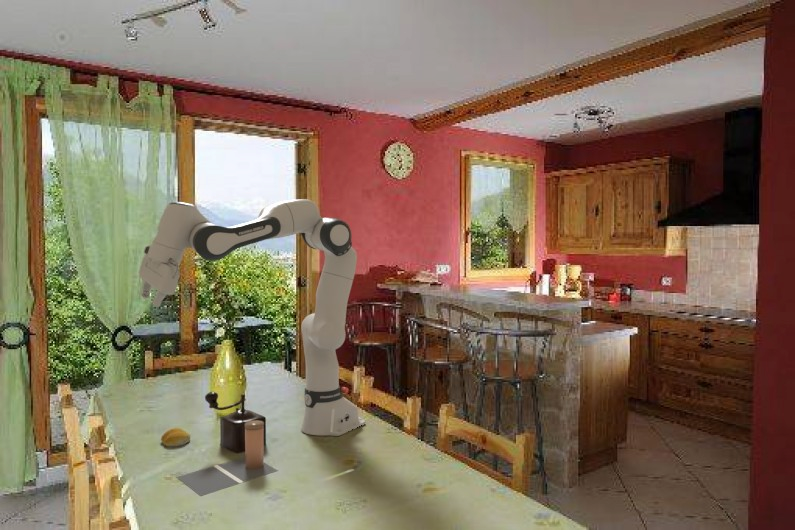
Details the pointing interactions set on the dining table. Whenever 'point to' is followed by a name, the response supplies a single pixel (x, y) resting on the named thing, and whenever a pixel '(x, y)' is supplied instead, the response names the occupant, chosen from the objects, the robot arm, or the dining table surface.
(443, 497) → the dining table surface
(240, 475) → the throwing lane
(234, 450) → the manual coffee grinder
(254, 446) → the terracotta jar
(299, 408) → the dining table surface
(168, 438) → the bread roll
